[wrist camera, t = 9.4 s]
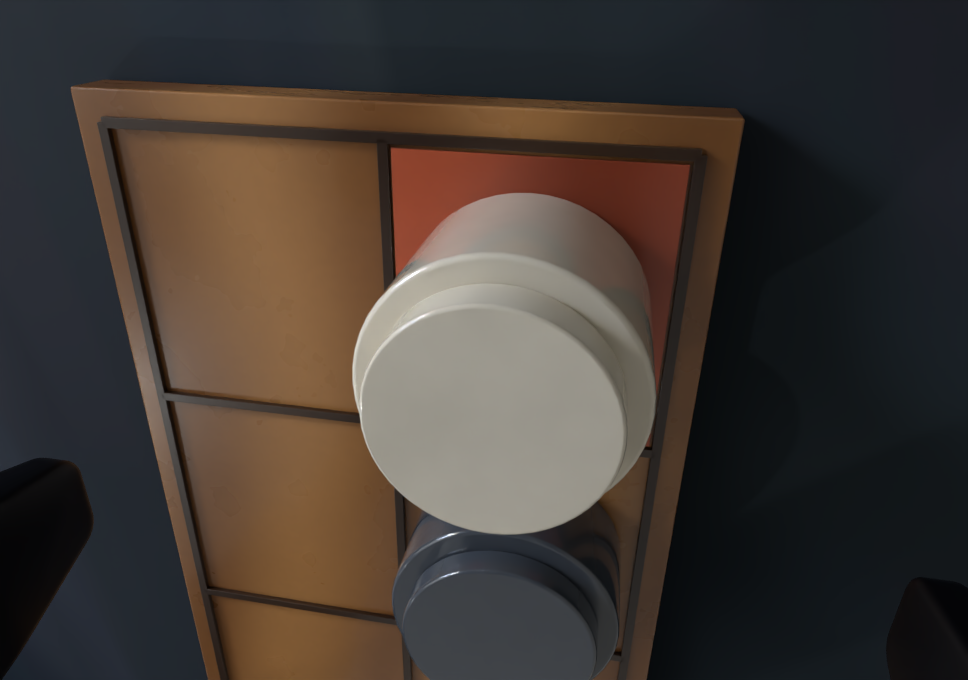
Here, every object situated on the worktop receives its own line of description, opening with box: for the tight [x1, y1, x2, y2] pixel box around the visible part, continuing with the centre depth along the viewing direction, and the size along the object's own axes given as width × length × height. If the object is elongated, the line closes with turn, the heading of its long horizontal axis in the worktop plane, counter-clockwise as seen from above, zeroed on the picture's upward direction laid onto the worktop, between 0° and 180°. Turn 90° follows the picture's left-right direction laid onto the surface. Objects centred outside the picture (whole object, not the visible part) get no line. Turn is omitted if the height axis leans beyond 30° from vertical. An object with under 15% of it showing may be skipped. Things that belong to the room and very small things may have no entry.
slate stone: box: [392, 501, 621, 680], centre depth 15 cm, size 5×5×3 cm
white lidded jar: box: [352, 193, 657, 535], centre depth 12 cm, size 5×5×4 cm
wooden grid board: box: [71, 80, 745, 680], centre depth 17 cm, size 12×19×1 cm, turn 179°
